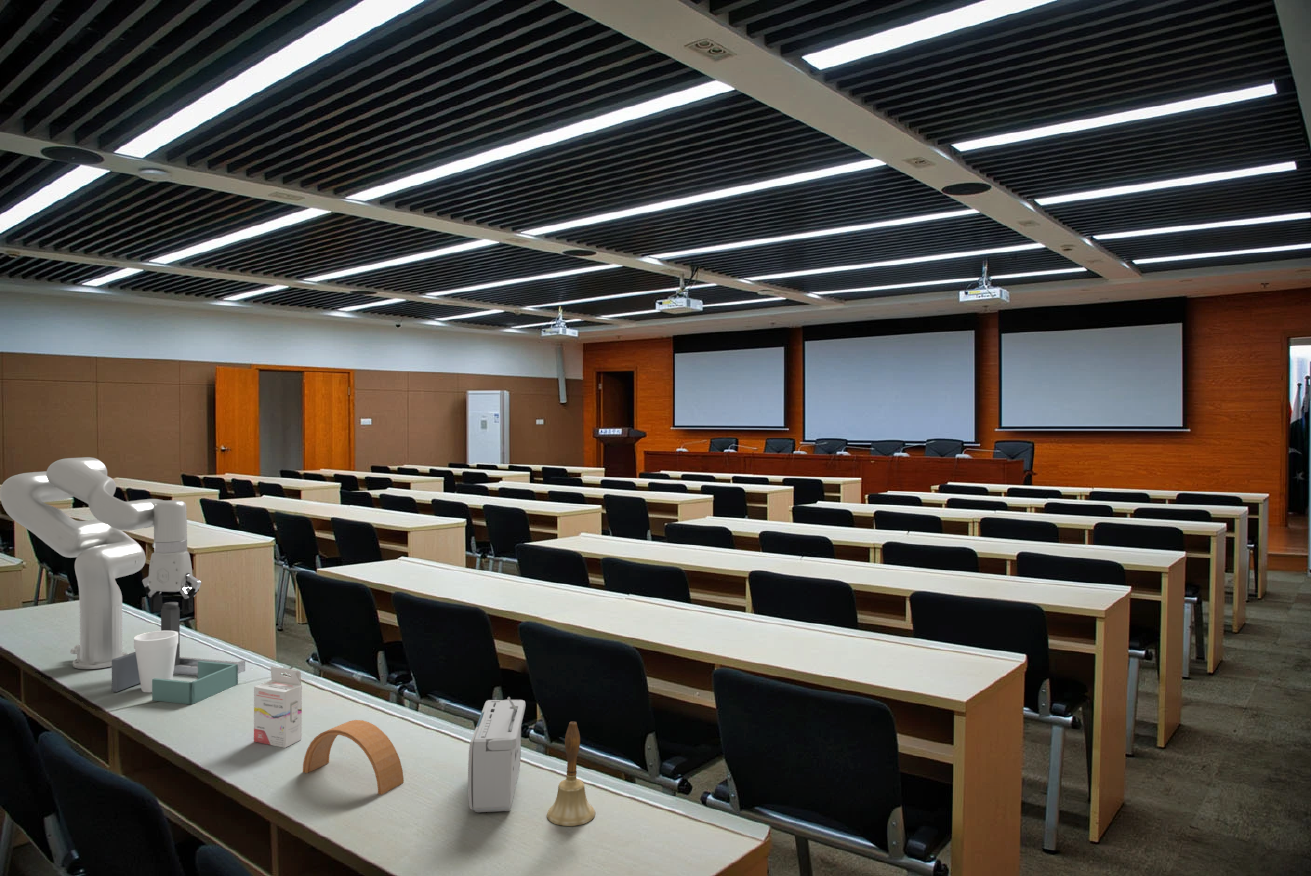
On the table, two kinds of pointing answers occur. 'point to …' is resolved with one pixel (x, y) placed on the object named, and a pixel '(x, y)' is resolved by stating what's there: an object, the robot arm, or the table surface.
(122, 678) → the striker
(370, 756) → the arch
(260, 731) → the ink cartridge box
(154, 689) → the box
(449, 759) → the table surface
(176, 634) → the foam cup
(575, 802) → the hand bell
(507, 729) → the stereo radio cassette player
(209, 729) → the table surface
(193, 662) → the striker rails
